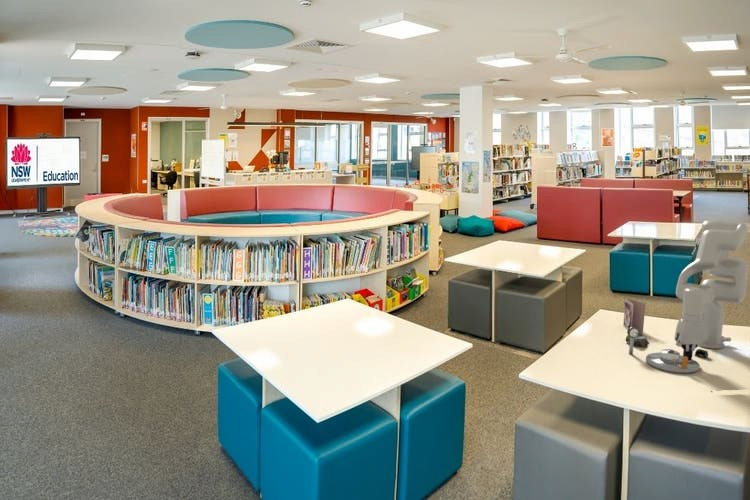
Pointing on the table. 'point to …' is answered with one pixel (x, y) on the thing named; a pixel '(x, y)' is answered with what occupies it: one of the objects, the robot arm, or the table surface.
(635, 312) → the greeting card
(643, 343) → the fossil
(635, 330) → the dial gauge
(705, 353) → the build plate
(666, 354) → the cover
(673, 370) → the platter
